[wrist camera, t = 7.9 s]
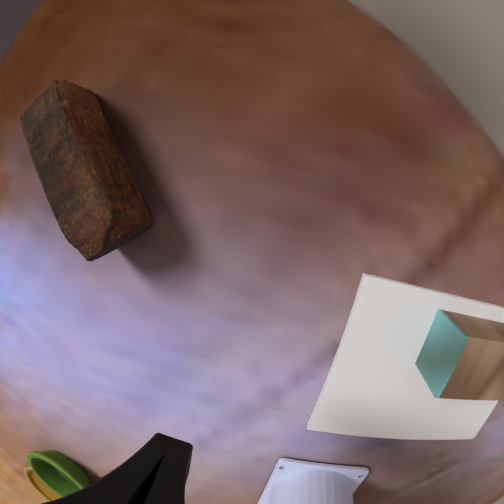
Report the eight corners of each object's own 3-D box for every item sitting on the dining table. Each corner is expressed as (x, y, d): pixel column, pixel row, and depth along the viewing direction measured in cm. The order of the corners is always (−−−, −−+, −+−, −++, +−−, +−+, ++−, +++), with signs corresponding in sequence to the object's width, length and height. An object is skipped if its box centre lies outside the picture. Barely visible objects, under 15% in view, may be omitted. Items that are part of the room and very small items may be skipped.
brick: (59, 124, 19) (15, 118, 14) (97, 90, 18) (54, 75, 13) (116, 251, 20) (74, 269, 15) (161, 223, 19) (123, 235, 15)
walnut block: (414, 363, 18) (494, 372, 17) (434, 397, 14) (518, 400, 13) (437, 308, 17) (516, 325, 16) (465, 335, 13) (545, 348, 13)
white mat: (471, 435, 19) (473, 438, 19) (306, 424, 21) (306, 429, 20) (535, 314, 17) (539, 317, 16) (363, 272, 18) (364, 275, 17)
